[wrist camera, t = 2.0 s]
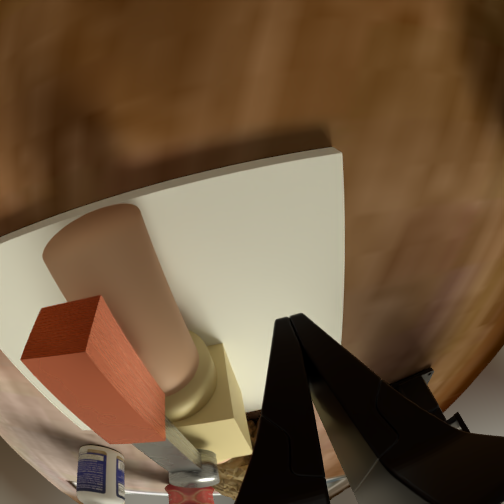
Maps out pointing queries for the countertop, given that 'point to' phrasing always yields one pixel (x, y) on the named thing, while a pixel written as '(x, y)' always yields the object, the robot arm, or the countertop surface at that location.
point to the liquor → (189, 495)
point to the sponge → (235, 468)
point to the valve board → (193, 280)
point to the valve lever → (111, 387)
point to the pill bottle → (100, 476)
